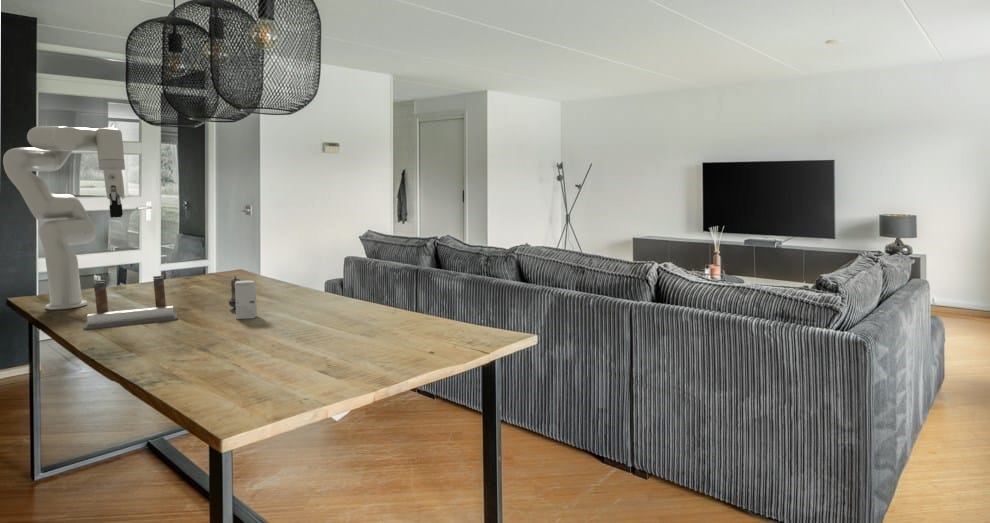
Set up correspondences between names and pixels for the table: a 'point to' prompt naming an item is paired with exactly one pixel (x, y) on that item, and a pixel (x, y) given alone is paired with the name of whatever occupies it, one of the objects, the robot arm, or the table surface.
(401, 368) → the table surface
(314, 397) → the table surface
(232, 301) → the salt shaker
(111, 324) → the mat
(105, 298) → the rack
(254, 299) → the skincare box
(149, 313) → the rail
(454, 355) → the table surface
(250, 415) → the table surface
